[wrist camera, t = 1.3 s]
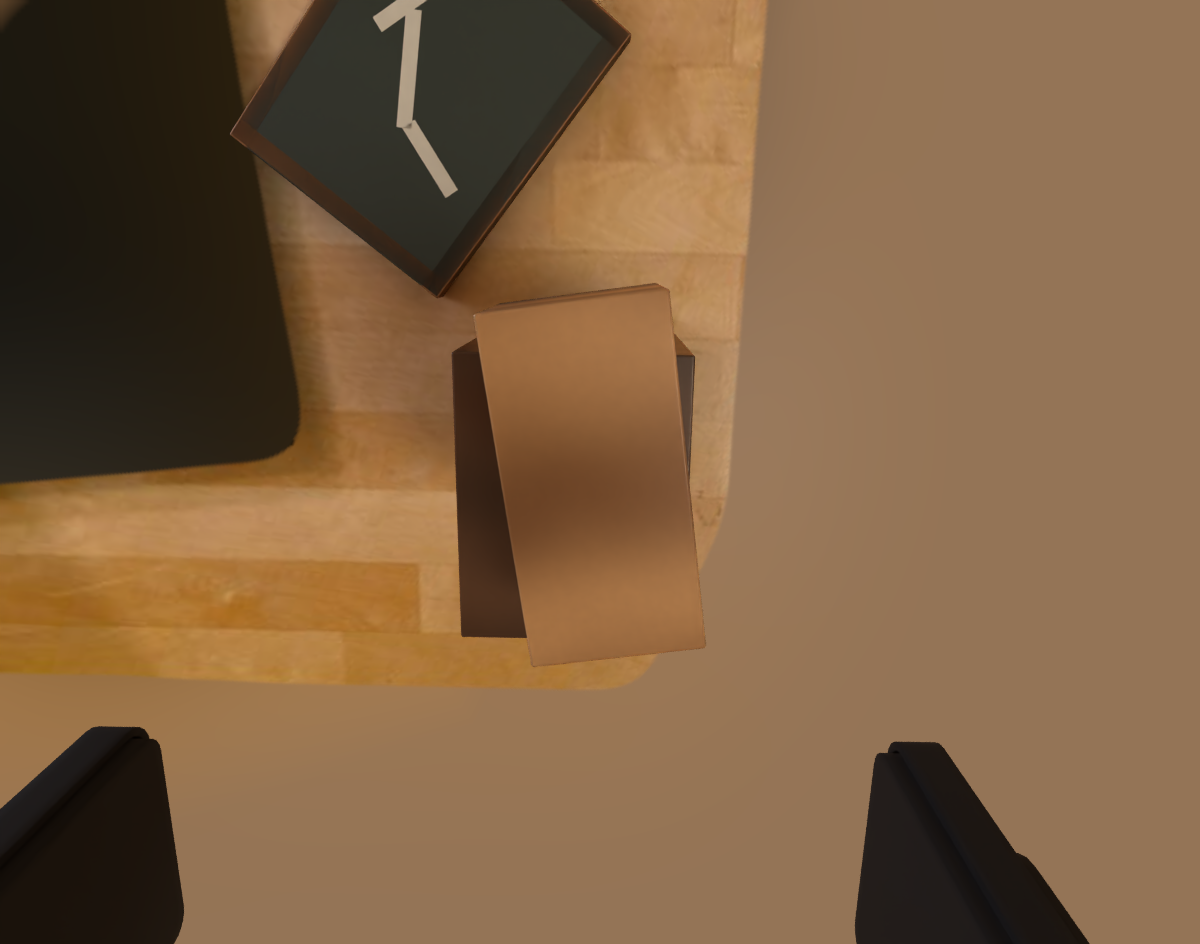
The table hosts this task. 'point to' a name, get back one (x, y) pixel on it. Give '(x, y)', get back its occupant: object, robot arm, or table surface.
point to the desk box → (501, 500)
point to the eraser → (594, 472)
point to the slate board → (426, 114)
